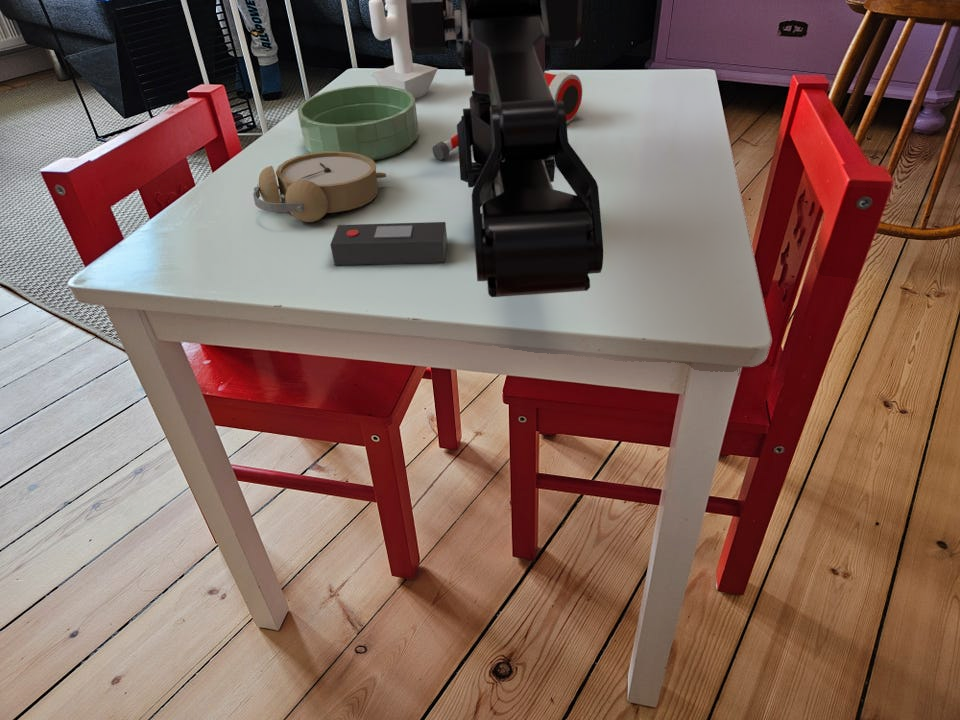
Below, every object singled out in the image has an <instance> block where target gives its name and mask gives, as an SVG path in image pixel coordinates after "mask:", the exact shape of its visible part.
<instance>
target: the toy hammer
mask: <svg viewBox="0 0 960 720" xmlns="http://www.w3.org/2000/svg"><path fill="white" fill-rule="evenodd" d="M545 79H546V81H547V84H548V86H549V89H550V92H551V94H552V97H553V99H554V100H555V101H563V102H564V106H565V113H566V123H567V124H570V122H571V121H572V120H573V119H574V118H575V117H576V115H577V114H578V112H579V110H580V107H581V105H582V104H581V103H582V99H583V85H582V81H581V79H580V77H579V76H578V75H576V74H572V73H569V72H560V73H558V74H554V73H549V72H545ZM456 148H458V135H457V134H455V135H454V136H452V137H450V138H449V139H447V140H446V141H439V142H437V143H436V144H434V145H433V146H432V148H431V149H432V155H433V156H434V157H435V159H437V160H438V161H442V160H444V159H445V158H447V157H448V156H450V152H452V151H453V150H454V149H456Z"/></svg>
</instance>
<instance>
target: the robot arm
mask: <svg viewBox="0 0 960 720" xmlns="http://www.w3.org/2000/svg"><path fill="white" fill-rule="evenodd" d="M459 6H460V7H459V9H454V4H453V3H452V2H450V1H448V0H406V8H407V20H408V31H409V43H410V50H411V53H412V54H414V55H415V56H427V55H445V54H447V49H449V48H450V43H451V42H450V41H453V40H455V46H456V60H457V64H458V65H459V66H460V67H461V69H462V70H464V76H465V77H472V86H473V90H471V96H470V97H469V98H468V99H469V108H462V115H461V116H460V117H461V119H460V120H459V122H458V123H457V124H456V133H457V134H456V135H458V147H457V149H458V162H459V177H460V181H463V182H465V183H467V187H468V188H472V191H471V209H472V210H471V213H472V214H471V215H472V228H473V229H472V230H473V242H474V243H473V244H474V257H475V269H476V271H475V272H476V281H477V282H486V287H487V294H488V296H489V297H491V298H501V297H503V298H504V297H518V296H531V295H546V294H561V293H574V292H575V293H577V292H587V291H588V290H590V289H591V279H590V277H589V275H593V274H594V275H595V274H601V273H602V270H603V265H604V239H603V227H602V216H601V215H602V213H601V204H600V193H599V185H598V183H597V180H596V179H595V177H594V176H593V175H592V173H591V172H590V170H589V168H587V166H586V165H585V163H584V162H583V160H582V159H581V158H580V156H579V155H578V154H577V152H576V151H575V149H574V148H573V146H572V145H571V144H570V142H569V136H568V135H569V134H568V125H567V124H568V123H566V113H565V106H564V102H563V101H555V100H554V99H553V97H552V94H551V92H550V89H549V86H548V84H547V81H546V79H545V73H546V72H549V71H550V70H551V63H552V62H551V61H552V49H570V48H571V49H572V48H576V47H577V46H578V44H579V43H580V42H581V38H582V17H583V16H582V13H583V0H459ZM556 168H557V169H558V171H559V172H560V174H561V175H562V177H563V178H564V179H565V181H566V183H567V184H568V185H569V187H570V188H571V190H572V191H573V192H574V194H572V193H569V192H565V191H561V190H557V189H554V188H553V185H552V183H554V182H555V174H556V173H555V172H556V171H555V170H556Z"/></svg>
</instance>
